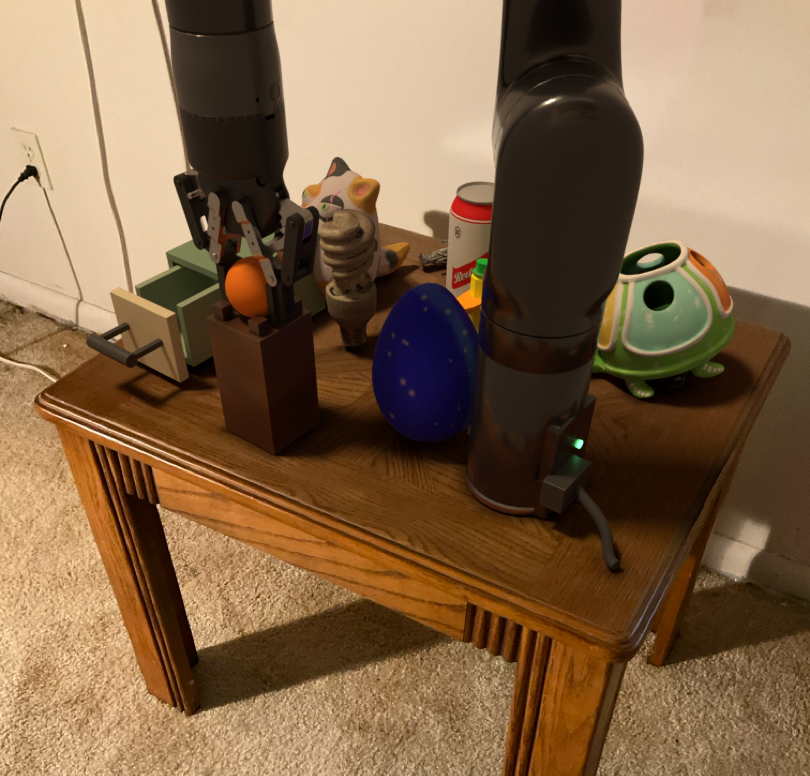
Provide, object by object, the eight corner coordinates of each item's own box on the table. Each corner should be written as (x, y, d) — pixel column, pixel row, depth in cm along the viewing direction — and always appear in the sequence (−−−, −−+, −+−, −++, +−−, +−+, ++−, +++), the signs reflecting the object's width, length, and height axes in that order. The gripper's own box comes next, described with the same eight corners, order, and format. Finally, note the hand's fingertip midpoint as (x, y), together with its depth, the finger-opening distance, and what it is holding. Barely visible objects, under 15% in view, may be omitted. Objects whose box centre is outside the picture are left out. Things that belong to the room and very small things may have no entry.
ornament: (499, 437, 78) (516, 293, 68) (428, 478, 74) (434, 330, 63) (422, 387, 84) (426, 247, 73) (352, 422, 80) (345, 278, 69)
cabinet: (242, 358, 88) (230, 279, 81) (181, 329, 92) (165, 251, 85) (326, 308, 95) (321, 231, 89) (266, 283, 99) (257, 209, 93)
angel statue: (473, 246, 106) (480, 274, 105) (413, 252, 104) (420, 281, 103) (480, 227, 102) (487, 256, 101) (418, 233, 101) (425, 263, 100)
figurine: (250, 268, 96) (288, 137, 89) (359, 287, 108) (401, 173, 101) (304, 314, 90) (350, 177, 83) (414, 329, 102) (462, 210, 95)
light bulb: (354, 368, 86) (349, 229, 76) (315, 350, 89) (305, 213, 78) (387, 345, 90) (386, 209, 79) (349, 329, 92) (343, 195, 81)
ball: (299, 311, 71) (295, 256, 68) (259, 335, 68) (252, 279, 65) (258, 294, 73) (251, 240, 70) (217, 316, 70) (208, 261, 67)
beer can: (501, 352, 89) (517, 205, 78) (443, 351, 89) (451, 204, 78) (498, 322, 93) (512, 179, 82) (443, 321, 93) (449, 178, 82)
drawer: (143, 404, 80) (126, 338, 75) (89, 375, 84) (69, 310, 78) (266, 331, 90) (259, 269, 85) (213, 308, 93) (202, 246, 88)
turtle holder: (557, 361, 93) (528, 268, 85) (723, 310, 88) (707, 206, 80) (568, 426, 84) (536, 329, 77) (753, 374, 79) (738, 264, 71)
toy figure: (462, 391, 84) (470, 282, 75) (435, 378, 85) (440, 269, 77) (502, 365, 87) (514, 257, 79) (476, 352, 89) (485, 246, 80)
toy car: (678, 394, 83) (683, 377, 82) (645, 385, 84) (649, 367, 83) (698, 357, 88) (703, 340, 87) (667, 348, 89) (671, 331, 88)
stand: (320, 422, 80) (310, 298, 70) (274, 455, 76) (257, 329, 67) (272, 399, 82) (256, 276, 73) (226, 429, 79) (203, 304, 69)
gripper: (123, 87, 59) (168, 302, 71) (267, 131, 53) (290, 357, 65) (200, 64, 64) (231, 270, 76) (341, 101, 58) (350, 319, 70)
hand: (258, 309), depth 70 cm, fingers closed on ball, 5 cm apart
